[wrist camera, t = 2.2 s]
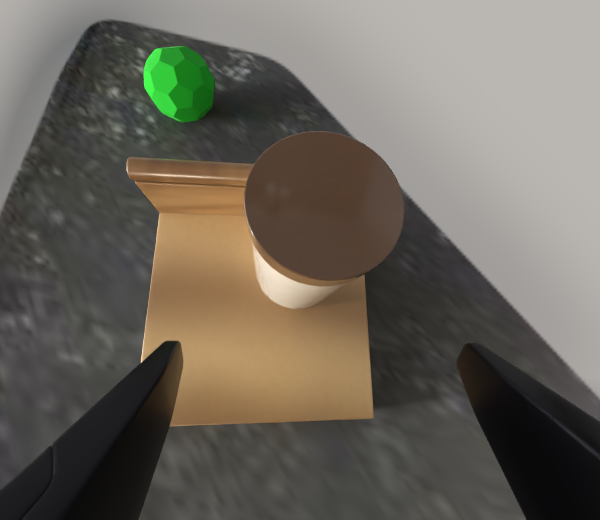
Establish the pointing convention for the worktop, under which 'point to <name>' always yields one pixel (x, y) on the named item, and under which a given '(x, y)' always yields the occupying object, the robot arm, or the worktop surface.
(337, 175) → the cylinder
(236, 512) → the worktop surface
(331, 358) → the wooden ramp
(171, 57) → the polyhedron
